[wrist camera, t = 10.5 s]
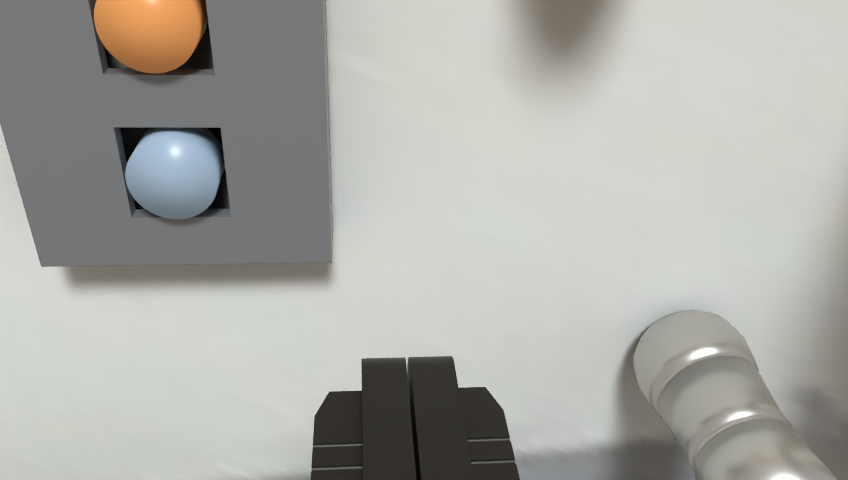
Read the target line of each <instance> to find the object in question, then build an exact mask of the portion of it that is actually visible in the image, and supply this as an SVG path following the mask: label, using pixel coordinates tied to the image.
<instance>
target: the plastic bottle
mask: <svg viewBox="0 0 848 480" xmlns="http://www.w3.org/2000/svg"><path fill="white" fill-rule="evenodd" d="M633 366H634V371H635V375H636V379H637V383H638V387H639V389H640V391H641V392H642V394H643V395H644V397H645V398H646V399H647V401H648V402H649V404H650V405H651V407H652V408H653V409H654V410H655V411H656V413H657V414H658V415H659V416H660V417H661V418H662V419H663V420H664V421H665V423H666V424H667V426H668V428H669V429H670V431H671V432H672V434H673V436H674V437H675V439H676V440H677V442H678V443H679V445H680V447H681V448H682V450H683V451H684V453H685V455H686V457H687V459H688V461H689V464H690V466H691V468H692V470H693V472H694V473H695V477H696V480H839V479H838V478H837V477H836V476H835V475H834V474H833V473H832V472H831V471H830V470H829V469H828V468H827V467H826V466H825V465H824V464H823V463H822V462H821V461H820V460H819V458H818V457H817V456H816V455H815V454H814V453H813V452H812V451H811V449H810V448H809V447H808V445H807V444H806V443H805V442H804V440H803V439H802V438H801V436H800V435H799V434H798V433H797V431H796V430H795V429H794V428H793V427H792V425H791V424H790V422H789V421H788V420H787V419H786V417H785V416H784V415H783V414H782V412H781V411H780V409H779V407H778V406H777V404H776V402H775V400H774V398H773V397H772V395H771V393H770V391H769V390H768V388H767V386H766V384H765V382H764V381H763V379H762V377H761V375H760V373H759V370H758V367H757V364H756V361H755V359H754V357H753V355H752V353H751V351H750V349H749V346H748V344H747V342H746V340H745V338H744V337H743V336H742V335H741V334H740V332H739V331H738V330H736V329H735V328H734V327H733V326H732V325H731V324H730V323H729V322H728V321H726V320H725V319H724V318H722V317H720V316H719V315H716V314H713V313H709V312H704V311H697V310H685V311H680V312H676V313H673V314H670V315H667V316H665V317H663V318H661V319H660V320H658V321H657V322H655V323H654V324H652V325H651V326H650V327H649V328H648V329H647V330H646V331H645V333H644V334H643V335H642V337H641V338H640V340H639V342H638V345H637V347H636V350H635V353H634V357H633Z"/></svg>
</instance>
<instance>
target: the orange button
mask: <svg viewBox="0 0 848 480" xmlns="http://www.w3.org/2000/svg"><path fill="white" fill-rule="evenodd" d="M94 22H95V27H96V31H97V33H98V36H99V38H100V40H101V42H102V43H103V45H104V46H105V48H106V49H107V50H108V51H109V52H110V54H111V55H112V56H113V57H115V58H116V59H117V60H118V61H120V62H121V63H122V64H124V65H126V66H128V67H130V68H132V69H134V70H137V71H140V72H145V73H154V74H155V73H165V72H169V71H172V70H174V69H176V68H178V67H180V66H181V65H183V64H184V63H185V62H186V61H187V60H188V59H189V58H190V56H191V55H192V53H193V52H194V50H195V48H196V46H197V45H198V43H199V41H200V40H201V38H202V36H203V34H204V32H205V30H206V27H207V22H208V15H207V6H206V0H96V3H95V8H94Z"/></svg>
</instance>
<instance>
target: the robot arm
mask: <svg viewBox="0 0 848 480" xmlns="http://www.w3.org/2000/svg"><path fill="white" fill-rule="evenodd" d="M311 480H520V478H519V474H518V470H517V466H516V464H515V457H514V453H513V449H512V445H511V442H510V436H509V432H508V428H507V423H506V419H505V415H504V411H503V409H502V408H501V406H500V405H499V404H498V403H497V401H496V400H495V399H494V398H493V396H492V395H491V394H490V393H489V391H488V390H487V389H486V387H471V388H458V383H457V377H456V371H455V365H454V360H453V357H452V356H440V357H409V358H408V368H406V359H405V358H367V359H362V391H339V392H329V393H328V395H327V397H326V398H325V400H324V402H323V403H322V405H321V406H320V408H319V410H318V411H317V413H316V415H315V420H314V436H313V453H312V472H311Z"/></svg>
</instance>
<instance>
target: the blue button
mask: <svg viewBox="0 0 848 480" xmlns="http://www.w3.org/2000/svg"><path fill="white" fill-rule="evenodd" d="M224 167H225V161H224V153H223V149H222V146H221V144H220V143H219V141H218V140H217V138H216V137H215V136H214V135H213V134H212V133H211V132H210V131H209V130H208V129H206V128H169V127H150V128H149V129H148V130H147V131H146V132H145V133H144V135H143V136H142V138H141V140H140V141H139V143H138V145H137V147H136V148H135V150H134V152H133V153H132V155H131V157H130V159H129V160H128V163H127V165H126V170H125V178H126V183H127V187H128V189H129V191H130V193H131V195H132V196H133V198H134V199H135V200H136V201H137V202H138V203H139V204H140V205H141V206H142V207H143V208H145V209H146V210H148V211H149V212H151V213H153V214H155V215H158V216H160V217H164V218H169V219H185V218H190V217H193V216H196V215H198V214H200V213H202V212H203V211H205V210H206V209H207V208H208V207H209V206H210V205H211V203H212V202H213V200H214V198H215V196H216V193H217V190H218V186H219V183H220V180H221V177H222V174H223V171H224Z"/></svg>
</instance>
